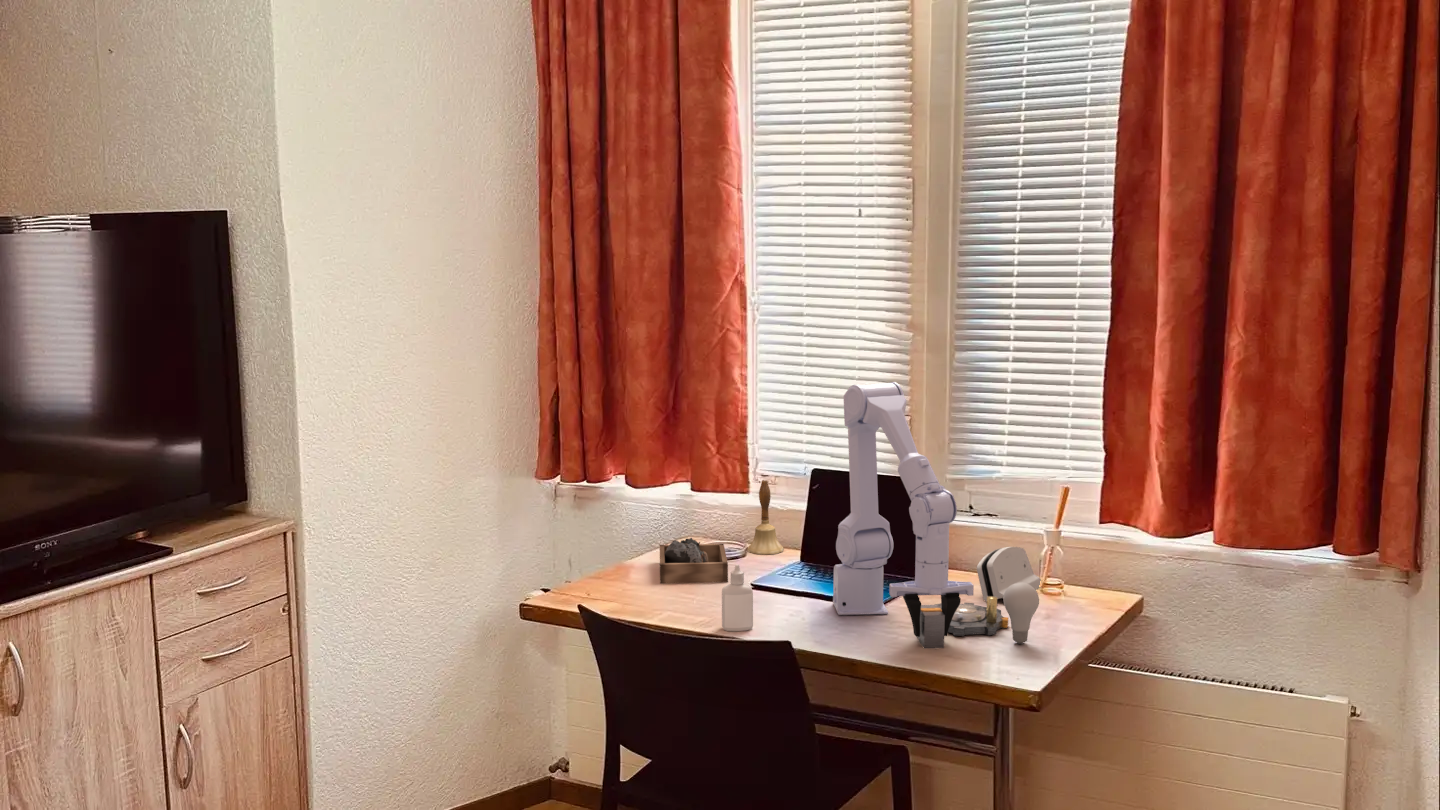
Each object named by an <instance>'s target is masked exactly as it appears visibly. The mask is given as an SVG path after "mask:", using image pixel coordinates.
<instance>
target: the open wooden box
mask: <svg viewBox="0 0 1440 810" xmlns="http://www.w3.org/2000/svg"><path fill="white" fill-rule="evenodd" d="M669 545H670V544H659V583H660V584H693V583H694V584H696V583H697V584H699V583H700V584H701V583H704V584H705V583H707V584H709V583H729V563H728V557H727V553H726V548H725V544H724V543H700V544H699V547H700V551H701V552H702V551H705V552H706V553H707V557H708V561H709V562H704V563H665V555H664V553H665V552H666V550H667V548H668V546H669Z"/></svg>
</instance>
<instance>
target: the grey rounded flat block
mask: <svg viewBox="0 0 1440 810" xmlns="http://www.w3.org/2000/svg"><path fill="white" fill-rule="evenodd" d="M976 573H977V576H978V577H977V578H978V581H979V586H980V590H981V595H982V599H983V601H984V600H985V602H987V597H988V596H994V597H997V600H999V599H1003V597H1004V593H1005V591H1006V590H1007V588H1008V587H1009V586H1011V585H1012V584H1015V583H1027V584H1029V585H1031V586H1032V587H1033V588H1034V589H1035V590H1036V591H1037V590H1038V589H1040V588H1039V585H1040V581H1041V577H1040V576H1038V575H1037V574H1035V573H1034V570H1033V568H1032V566H1031V561H1030V559H1029V557H1028V554H1027V552H1026V550H1025V549H1024V547H1018V546H1007V547H1006V546H1005V547H1000V548H997V549H994V550H993V551H990V552H988V553H987V554H985V555H984V556H983V557H982V558H981V559H980V561H979V562H978V564H977V565H976ZM1041 582H1042V581H1041Z"/></svg>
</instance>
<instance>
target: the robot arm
mask: <svg viewBox="0 0 1440 810" xmlns="http://www.w3.org/2000/svg"><path fill="white" fill-rule="evenodd" d="M906 407H907V398H906V397H905V394H904V391H903V389H902V387H901V385H900V384H899V383H898V382H896V381H890V382H885V383H873V384H852V385H850V386H849V387H848V388H847V391H846V392H845V393H844V395H843V418H844V426H845V427H847V435H848V436H847V438H848V440H847V442H848V470H849V496H850V499H849V500H850V513H849V514H848V515H847V516H846V517H845V518H844V519H843V520H842V521H840V522H839V524H838V525H837V526H838V527H837V529H838V531H837V538H836V540H835V550H836V555H837V557H838V559H839V561H841V563H839V564H835V565H834V566H833V586H832V587H833V595H832V604H833V606H834V608H835V611H836V613H837V615H839V616H851V615H887V614H888V613H889V611H888V608H887V607H886V606H885V604H884V565H887V563H888V559H889V558H890V557H892V554H893V550H894V540H893V536H892V534H891V526H890V522H889V521H888V520H887V519H886V518H885V517H883V516H882V515H880V514H879V495H878V494H879V492H878V491H879V490H878V462H877V461H878V460H877V435H876V434H877V432H878V430H879V429H880V428H881V429H882V431H883V433H884V435H885V437H886V438H887V440H888V442H889V444H890V445H891V447H892V449H893V451H894V453H895V454H896V456H897V457H898V460H899V464H898V466H897V473H898V475H899V477H900V479H901V482H902V484H903V487H904V489H905V490H906V493H907V495H908V497H909V499H910V501H911V502H910V505H909V507H908V512H909V516H910V519H911V521H912V531H913V534H914V535H915V563H914V564H915V565H914V567H915V570H914V575H915V576H914V580H911V581H904V582H896V583H895V582H894V583H889V591H888V592H889V595H890V597H891V598H897V597H900V596H902V598H903V600H904V603H905V605H906V607H907V610H908V613H909V615H910V619H911V623H912V630H913V635H914V636H915V637H916V638H917V637H920V611H921V605H922V602H921V600H920V597H919V596H940V601H941V606H942V612H943V613H944V615H945V628H944V637H948V635H949V632H948V630H949V626H950V623H951V620H952V618H953V615H954V613H955V611H956V610H957V608H958V606H959V605H960V604H961V602H962V601H961V597H960V595H966V596H968V597H970V596H974V589H975V588H974V587H975V585H974V584H973V583H972V582H971V581H957V580H955V581H954V580H949V559H950V558H949V553H950V551H949V550H950V524H951V523H953V522H954V520H955V519H956V517H957V513H958V512H957V511H958V510H957V509H958V508H957V507H958V506H957V502H956V500H955V497H954V494H953V493H952V492H951V491H950V490H947V489H946V487H945V486H944V485H941V483H940V482H939V480H938V478H937V475H936V474H935V471H934V469H933V467H932V466H931V462H930V461H929V458H928V457H927V456H926V455H923V454H920V453H919V452H918V449H917V446H916V443H915V440H914V438H913V435H912V433H911V429H910V427H909V424H908V422H907V419H906V418H907V417H906V416H905V412H906Z"/></svg>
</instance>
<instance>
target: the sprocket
mask: <svg viewBox="0 0 1440 810" xmlns="http://www.w3.org/2000/svg"><path fill="white" fill-rule="evenodd" d="M963 604H971V605H976V606H980V607H982V608H984V609H985V620H984V621H982V622H968V623H960V622H956V621H951V623H950V626H949V630H948V634H953V636H957V637H959V636H960V637H965V635H968V636H969V635H986V636H991V635H992V636H993V635H997V631H998V630H1000V629H1002V628H1003V629H1004V628H1005V629H1006V628H1007V629H1008V627H1009V617H1008V616H1007V617H1005V616H1003V615H1002V609H999V608H998V599H997V597H994V596H988V597H987V601H986V606H982V605H977V604H975V603H973V602H964V603H963ZM933 605H938V607H939V608H941V610H942V606H941V603H940V602H939V603H935V604H933Z"/></svg>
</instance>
